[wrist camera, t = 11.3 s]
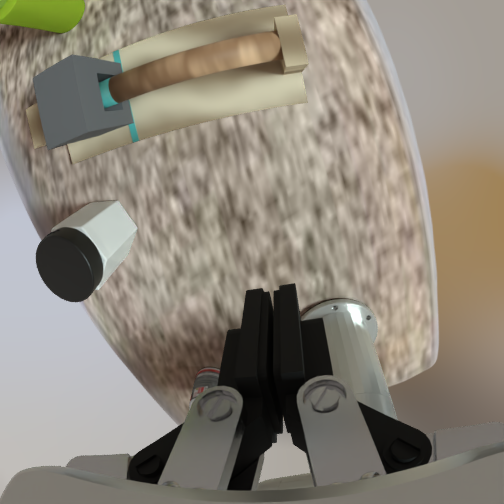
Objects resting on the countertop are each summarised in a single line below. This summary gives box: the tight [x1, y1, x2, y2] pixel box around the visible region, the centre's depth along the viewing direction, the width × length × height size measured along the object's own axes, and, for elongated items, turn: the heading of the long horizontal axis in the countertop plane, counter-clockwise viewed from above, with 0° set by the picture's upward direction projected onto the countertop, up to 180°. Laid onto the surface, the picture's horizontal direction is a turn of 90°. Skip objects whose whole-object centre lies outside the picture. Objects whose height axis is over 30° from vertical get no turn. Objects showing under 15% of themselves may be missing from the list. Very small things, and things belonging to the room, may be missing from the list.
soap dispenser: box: [0, 0, 85, 33], centre depth 17 cm, size 6×7×20 cm
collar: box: [33, 55, 134, 150], centre depth 26 cm, size 8×5×10 cm, turn 12°
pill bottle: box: [189, 368, 220, 409], centre depth 46 cm, size 6×6×10 cm
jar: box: [36, 200, 137, 302], centre depth 34 cm, size 9×8×12 cm
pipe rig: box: [26, 5, 309, 164], centre depth 28 cm, size 12×30×8 cm, turn 102°
